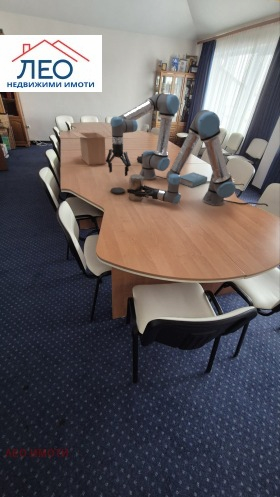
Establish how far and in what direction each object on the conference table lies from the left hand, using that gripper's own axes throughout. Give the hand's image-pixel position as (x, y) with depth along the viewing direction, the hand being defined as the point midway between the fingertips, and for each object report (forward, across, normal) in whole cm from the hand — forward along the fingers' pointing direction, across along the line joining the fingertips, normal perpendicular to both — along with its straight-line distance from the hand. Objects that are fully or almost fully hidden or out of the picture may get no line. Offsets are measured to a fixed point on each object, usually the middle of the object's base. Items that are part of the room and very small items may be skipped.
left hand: (118, 173), depth 166 cm
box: (+15, -66, +55) cm, 87 cm away
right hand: (+8, +12, -3) cm, 15 cm away
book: (+16, +43, +58) cm, 74 cm away
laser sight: (+16, -17, +86) cm, 89 cm away
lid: (+13, 0, -1) cm, 13 cm away
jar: (+14, +17, -3) cm, 22 cm away
